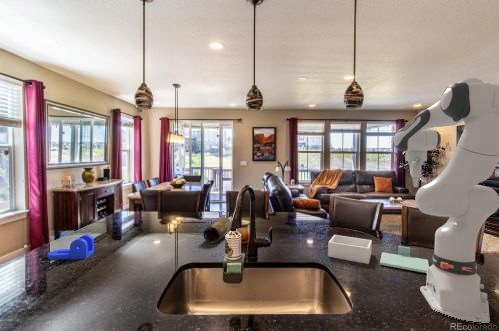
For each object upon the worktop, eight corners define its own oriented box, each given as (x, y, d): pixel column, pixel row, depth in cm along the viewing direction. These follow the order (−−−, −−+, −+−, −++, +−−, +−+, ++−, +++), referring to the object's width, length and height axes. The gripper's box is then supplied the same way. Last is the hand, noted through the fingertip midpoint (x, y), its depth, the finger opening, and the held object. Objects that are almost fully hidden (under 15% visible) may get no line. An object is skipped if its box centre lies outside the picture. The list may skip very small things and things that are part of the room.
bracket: (94, 252, 133) (94, 234, 133) (85, 258, 125) (85, 239, 124) (54, 253, 131) (54, 235, 131) (43, 260, 123) (43, 240, 122)
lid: (430, 275, 110) (430, 262, 110) (379, 265, 120) (380, 254, 119) (426, 260, 126) (427, 250, 126) (382, 253, 135) (382, 243, 135)
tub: (368, 263, 122) (369, 248, 121) (328, 256, 130) (328, 242, 130) (371, 254, 134) (371, 240, 134) (334, 248, 142) (334, 234, 142)
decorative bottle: (222, 239, 145) (245, 219, 188) (213, 222, 146) (238, 206, 189) (206, 247, 147) (232, 226, 191) (197, 230, 148) (225, 213, 192)
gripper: (425, 157, 121) (424, 188, 121) (422, 157, 139) (421, 184, 139) (409, 157, 124) (408, 187, 124) (407, 157, 142) (407, 183, 142)
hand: (415, 186), depth 132 cm, fingers open, 8 cm apart
